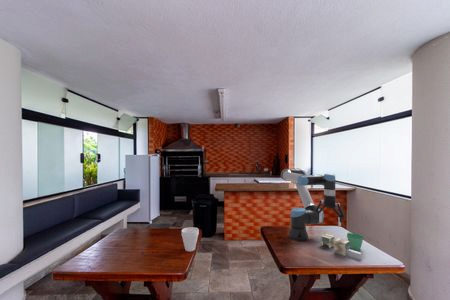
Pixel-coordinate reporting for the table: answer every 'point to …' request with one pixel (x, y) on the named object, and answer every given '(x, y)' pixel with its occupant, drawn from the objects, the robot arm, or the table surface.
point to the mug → (355, 240)
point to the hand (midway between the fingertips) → (329, 224)
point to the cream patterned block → (327, 240)
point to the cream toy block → (341, 246)
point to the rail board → (353, 255)
